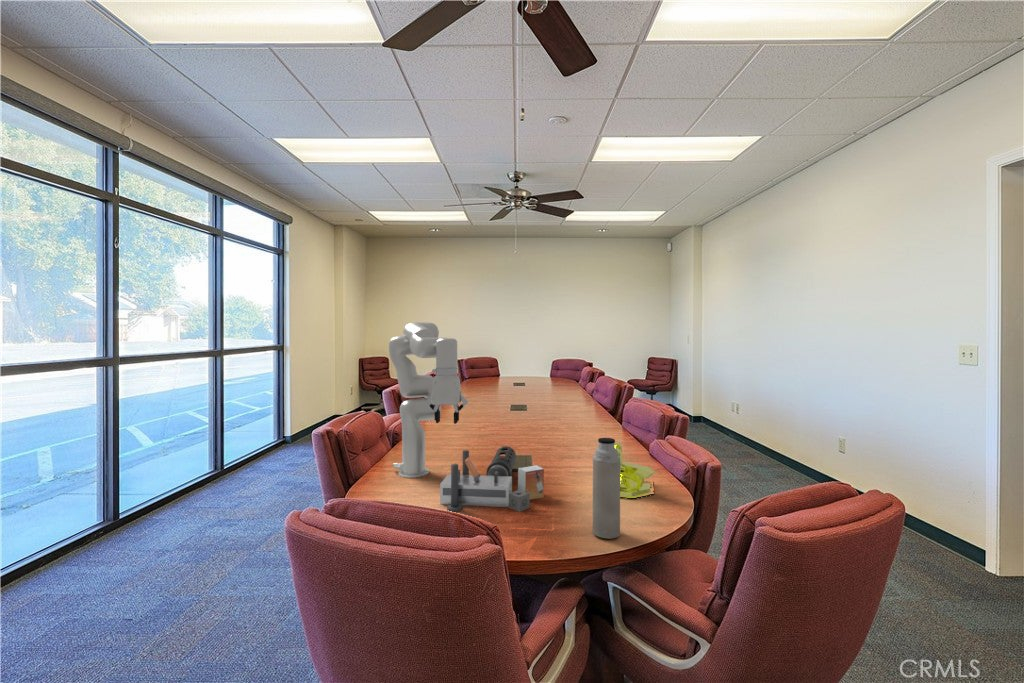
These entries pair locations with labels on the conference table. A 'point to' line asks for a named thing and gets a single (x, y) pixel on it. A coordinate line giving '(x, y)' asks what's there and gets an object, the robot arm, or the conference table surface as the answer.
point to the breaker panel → (478, 490)
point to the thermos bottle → (606, 490)
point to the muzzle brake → (502, 462)
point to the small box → (531, 481)
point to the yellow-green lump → (632, 477)
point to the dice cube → (519, 500)
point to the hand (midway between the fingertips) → (446, 422)
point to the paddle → (472, 469)
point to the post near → (454, 490)
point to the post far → (465, 468)
